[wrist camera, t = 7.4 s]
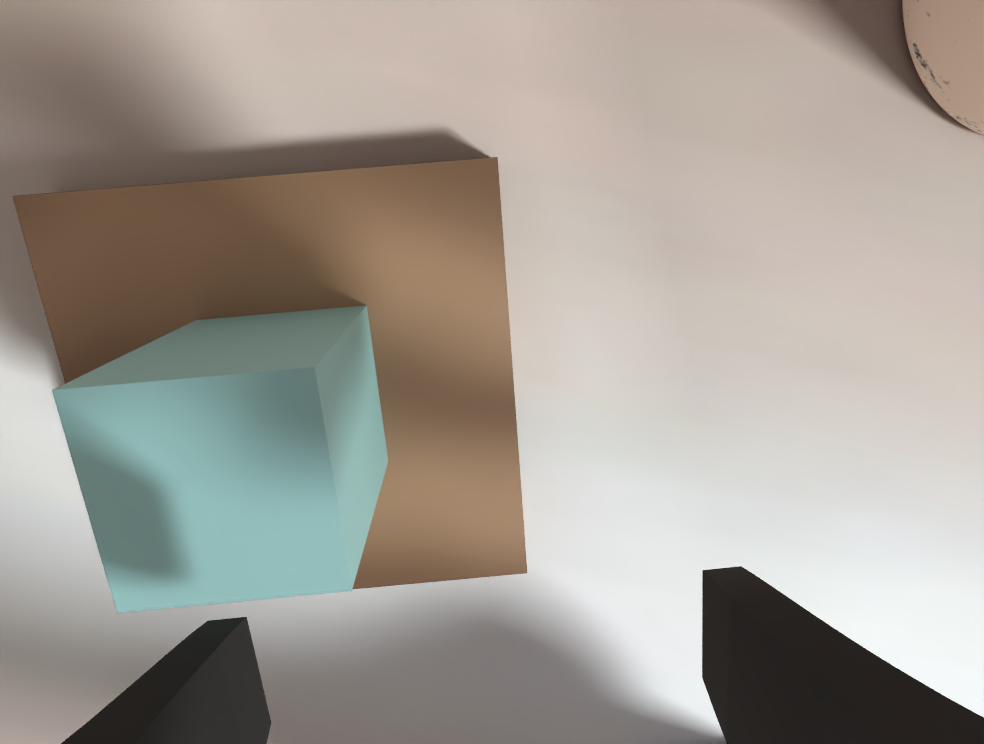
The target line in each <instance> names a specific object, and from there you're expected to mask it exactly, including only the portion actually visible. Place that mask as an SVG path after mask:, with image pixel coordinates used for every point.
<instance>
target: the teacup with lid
mask: <svg viewBox="0 0 984 744" xmlns="http://www.w3.org/2000/svg"><path fill="white" fill-rule="evenodd" d="M902 5H903V21H904V28H905V34H906V39H907V43H908V47H909V51H910V54H911V57H912V60H913V63H914V65H915V68H916V70H917V72H918V74H919V76H920V78H921V80H922V82H923V84H924V85H925V87H926V88H927V90H928V91H929V93H930V94H931V96H932V97H933V98H934V99H935V101H936V102H937V103H938V104H939V105H940V106H941V107H942V108H943V109H944V110H945V111H946V112H947V113H948V114H949V115H950V116H951V117H953V118H954V119H955V120H957V121H958V122H959V123H961V124H963V125H964V126H966V127H968V128H969V129H971V130H973V131H975V132H977V133H979V134H982V135H984V0H902Z"/></svg>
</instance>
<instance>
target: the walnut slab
mask: <svg viewBox="0 0 984 744" xmlns="http://www.w3.org/2000/svg"><path fill="white" fill-rule="evenodd" d="M13 200H14V203H15V207H16V210H17V214H18V217H19V221H20V224H21V228H22V232H23V235H24V239H25V242H26V246H27V249H28V253H29V256H30V260H31V263H32V267H33V270H34V274H35V278H36V281H37V285H38V288H39V292H40V295H41V299H42V302H43V306H44V309H45V313H46V316H47V320H48V324H49V327H50V331H51V334H52V338H53V341H54V345H55V348H56V352H57V355H58V359H59V362H60V366H61V369H62V373H63V377H64V380H65V384H66V383H68V382H70V381H72V380H74V379H76V378H78V377H80V376H82V375H84V374H86V373H88V372H90V371H93V370H95V369H97V368H99V367H101V366H103V365H105V364H107V363H109V362H111V361H113V360H115V359H117V358H119V357H121V356H123V355H125V354H127V353H129V352H132V351H134V350H136V349H138V348H140V347H142V346H144V345H146V344H148V343H150V342H152V341H154V340H156V339H158V338H160V337H162V336H164V335H166V334H168V333H171V332H173V331H175V330H177V329H179V328H181V327H183V326H185V325H187V324H189V323H191V322H193V321H195V320H204V319H216V318H227V317H239V316H250V315H262V314H273V313H285V312H296V311H308V310H319V309H331V308H343V307H354V306H366V305H367V311H368V318H369V326H370V333H371V340H372V347H373V355H374V362H375V369H376V376H377V383H378V391H379V398H380V405H381V412H382V420H383V427H384V434H385V441H386V449H387V456H388V464H387V468H386V471H385V475H384V478H383V482H382V485H381V489H380V493H379V496H378V500H377V503H376V507H375V510H374V514H373V518H372V521H371V525H370V528H369V532H368V535H367V539H366V542H365V546H364V550H363V553H362V557H361V560H360V564H359V567H358V571H357V575H356V578H355V582H354V585H353V589H360V588H371V587H382V586H393V585H403V584H414V583H425V582H436V581H447V580H457V579H468V578H479V577H490V576H501V575H511V574H522V573H527V564H526V550H525V536H524V522H523V508H522V494H521V480H520V466H519V452H518V438H517V424H516V410H515V396H514V382H513V368H512V354H511V340H510V326H509V312H508V298H507V284H506V271H505V257H504V243H503V229H502V215H501V201H500V187H499V173H498V159H497V157H493V158H480V159H468V160H455V161H443V162H431V163H418V164H406V165H393V166H381V167H369V168H356V169H344V170H331V171H319V172H306V173H294V174H282V175H269V176H257V177H244V178H232V179H219V180H207V181H195V182H182V183H170V184H157V185H145V186H133V187H120V188H108V189H95V190H83V191H70V192H58V193H46V194H33V195H21V196H13Z"/></svg>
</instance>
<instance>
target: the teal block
mask: <svg viewBox="0 0 984 744" xmlns="http://www.w3.org/2000/svg"><path fill="white" fill-rule="evenodd" d="M52 392H53V395H54V399H55V402H56V406H57V409H58V412H59V416H60V419H61V423H62V426H63V430H64V433H65V436H66V440H67V443H68V447H69V450H70V453H71V457H72V460H73V464H74V467H75V471H76V474H77V477H78V481H79V484H80V488H81V491H82V494H83V498H84V501H85V505H86V508H87V512H88V515H89V518H90V522H91V525H92V529H93V532H94V536H95V539H96V542H97V546H98V549H99V553H100V556H101V559H102V563H103V566H104V570H105V573H106V577H107V580H108V583H109V587H110V590H111V594H112V597H113V601H114V604H115V607H116V611H117V613H121V612H132V611H143V610H153V609H164V608H174V607H185V606H195V605H206V604H216V603H227V602H238V601H248V600H259V599H269V598H280V597H290V596H301V595H312V594H322V593H333V592H343V591H352V589H353V585H354V582H355V578H356V575H357V571H358V567H359V564H360V560H361V557H362V553H363V550H364V546H365V542H366V539H367V535H368V532H369V528H370V525H371V521H372V518H373V514H374V510H375V507H376V503H377V500H378V496H379V493H380V489H381V485H382V482H383V478H384V475H385V471H386V468H387V464H388V456H387V449H386V441H385V434H384V427H383V420H382V412H381V405H380V398H379V391H378V383H377V376H376V369H375V362H374V355H373V347H372V340H371V333H370V326H369V318H368V311H367V305H366V306H354V307H343V308H331V309H319V310H308V311H296V312H285V313H273V314H262V315H250V316H239V317H227V318H216V319H204V320H195V321H193V322H191V323H189V324H187V325H185V326H183V327H181V328H179V329H177V330H175V331H173V332H171V333H168V334H166V335H164V336H162V337H160V338H158V339H156V340H154V341H152V342H150V343H148V344H146V345H144V346H142V347H140V348H138V349H136V350H134V351H132V352H129V353H127V354H125V355H123V356H121V357H119V358H117V359H115V360H113V361H111V362H109V363H107V364H105V365H103V366H101V367H99V368H97V369H95V370H93V371H90V372H88V373H86V374H84V375H82V376H80V377H78V378H76V379H74V380H72V381H70V382H68V383H66V384H64V385H62V386H60V387H58V388H56V389H54V390H52Z"/></svg>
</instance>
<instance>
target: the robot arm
mask: <svg viewBox="0 0 984 744" xmlns="http://www.w3.org/2000/svg"><path fill="white" fill-rule="evenodd" d="M702 678H703V681H704V683H705V686H706V689H707V692H708V694H709V697H710V700H711V703H712V706H713V708H714V711H715V714H716V716H717V719H718V722H719V724H720V727H721V729H722V732H723V735H724V737H725V740H726V742H727V744H984V717H982V716H980V715H978V714H976V713H974V712H972V711H970V710H968V709H967V708H965V707H963V706H961V705H959V704H958V703H956V702H954V701H952V700H950V699H948V698H947V697H945V696H943V695H941V694H940V693H938V692H936V691H935V690H933V689H931V688H929V687H928V686H926V685H924V684H923V683H921V682H919V681H918V680H916V679H914V678H912V677H911V676H909V675H907V674H906V673H904V672H902V671H901V670H899V669H897V668H895V667H894V666H892V665H891V664H889V663H887V662H886V661H884V660H882V659H881V658H879V657H878V656H876V655H874V654H873V653H871V652H870V651H868V650H866V649H865V648H863V647H862V646H860V645H859V644H857V643H855V642H854V641H852V640H851V639H849V638H848V637H846V636H845V635H843V634H842V633H840V632H839V631H837V630H835V629H834V628H832V627H831V626H829V625H828V624H826V623H825V622H823V621H822V620H820V619H819V618H817V617H816V616H814V615H813V614H811V613H810V612H809V611H807V610H806V609H804V608H803V607H801V606H800V605H798V604H797V603H795V602H794V601H792V600H791V599H789V598H788V597H786V596H785V595H784V594H782V593H781V592H779V591H778V590H776V589H775V588H773V587H772V586H770V585H769V584H767V583H766V582H764V581H763V580H761V579H760V578H758V577H757V576H755V575H754V574H752V573H751V572H749V571H748V570H746V569H744V568H743V567H741V566H740V567H731V568H721V569H711V570H703V633H702ZM270 725H271V720H270V716H269V711H268V707H267V703H266V699H265V694H264V690H263V686H262V681H261V677H260V673H259V669H258V664H257V660H256V656H255V651H254V647H253V643H252V639H251V634H250V630H249V626H248V621H247V617H241V618H231V619H222V620H212V621H207V622H206V623H204V624H203V625H202V626H200V627H199V628H198V629H196V630H195V631H194V632H193V633H192V634H190V635H189V636H188V637H187V638H185V639H184V640H183V641H182V642H181V643H180V644H178V645H177V646H176V647H175V648H174V649H172V650H171V651H170V652H169V653H168V654H167V655H165V656H164V657H163V658H162V659H161V660H160V661H159V662H157V663H156V664H155V665H154V666H153V667H152V668H150V669H149V670H148V671H147V672H146V673H145V674H144V675H142V676H141V677H140V678H139V679H138V680H137V681H135V682H134V683H133V684H132V685H131V686H130V687H128V688H127V689H126V690H125V691H124V692H122V693H121V694H120V695H119V696H118V697H117V698H115V699H114V700H113V701H112V702H111V703H110V704H108V705H107V706H106V707H105V708H104V709H103V710H101V711H100V712H99V713H98V714H97V715H96V716H94V717H93V718H92V719H91V720H90V721H88V722H87V723H86V724H85V725H84V726H82V727H81V728H80V729H79V730H77V731H76V732H75V733H74V734H72V735H71V736H70V737H69V738H67V739H66V740H65V741H64V742H62V743H61V744H266V743H267V738H268V734H269V730H270Z"/></svg>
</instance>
